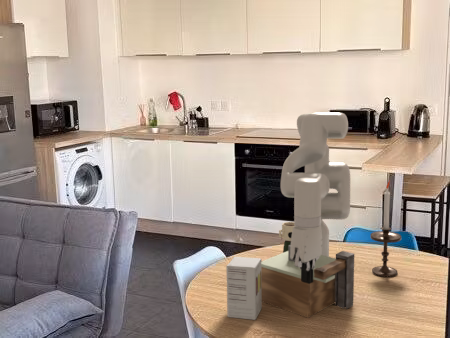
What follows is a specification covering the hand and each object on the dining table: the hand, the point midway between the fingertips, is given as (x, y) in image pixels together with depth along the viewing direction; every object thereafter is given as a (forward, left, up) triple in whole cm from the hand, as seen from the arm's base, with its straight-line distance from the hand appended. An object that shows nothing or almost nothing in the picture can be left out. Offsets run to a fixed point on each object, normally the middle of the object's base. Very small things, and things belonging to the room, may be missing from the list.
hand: (307, 281), depth 164 cm
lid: (-15, -11, -2) cm, 19 cm away
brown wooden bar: (-14, 0, -1) cm, 14 cm away
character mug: (-49, -44, -14) cm, 67 cm away
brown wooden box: (-15, -11, -14) cm, 23 cm away
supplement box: (+5, -21, -14) cm, 25 cm away
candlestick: (-55, -5, -14) cm, 57 cm away
